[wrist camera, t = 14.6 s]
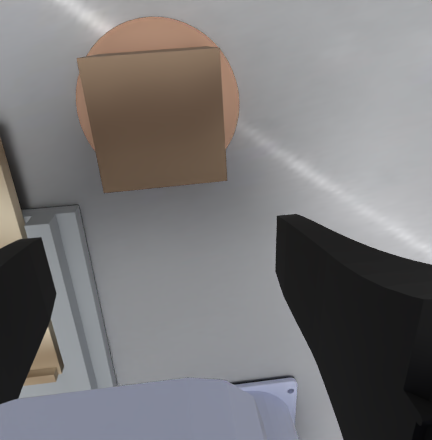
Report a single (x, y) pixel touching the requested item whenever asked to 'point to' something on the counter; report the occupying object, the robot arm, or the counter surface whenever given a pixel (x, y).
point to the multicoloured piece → (5, 234)
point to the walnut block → (156, 117)
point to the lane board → (71, 303)
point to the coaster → (156, 40)
